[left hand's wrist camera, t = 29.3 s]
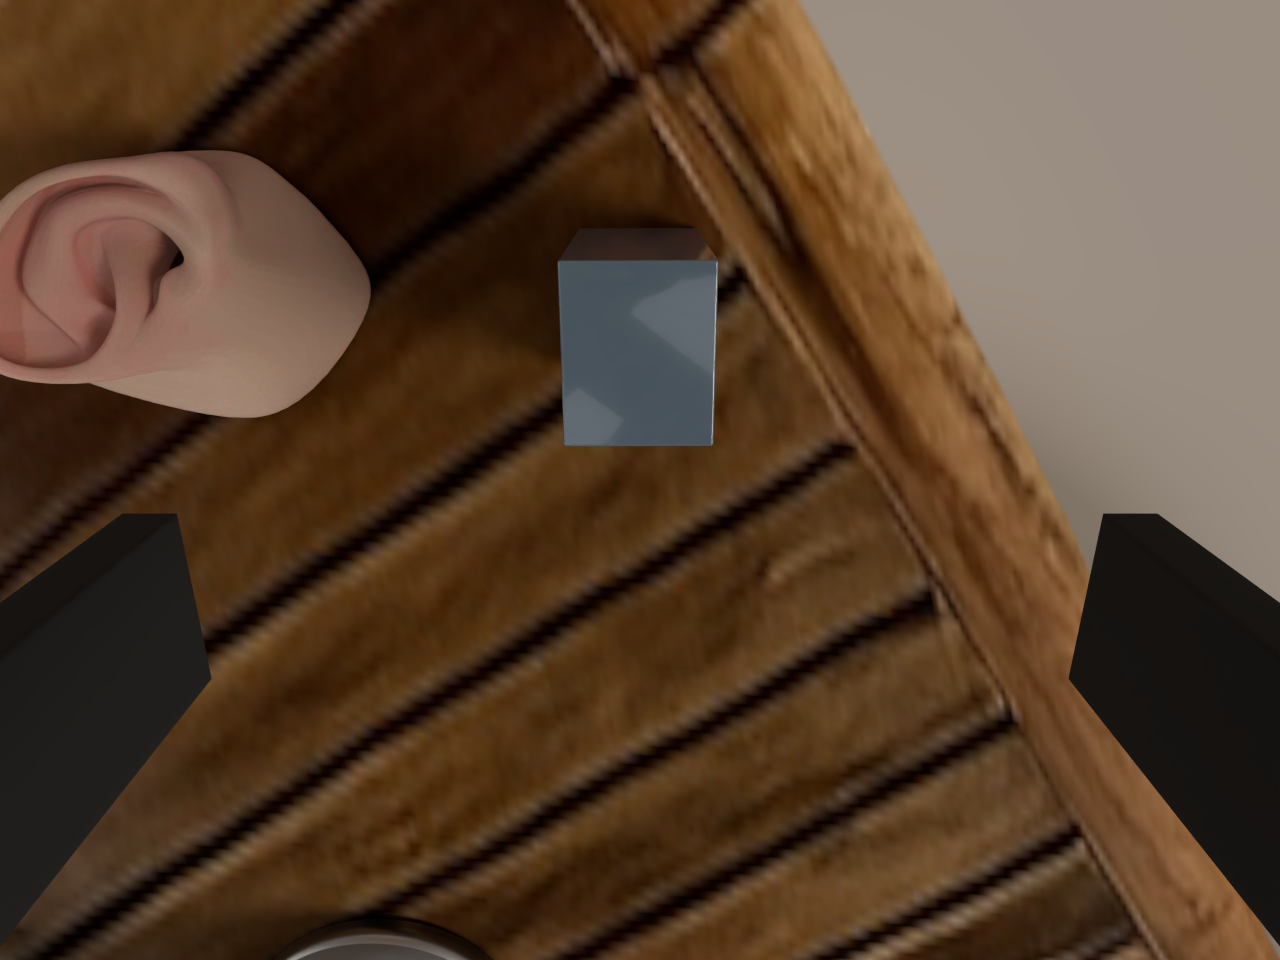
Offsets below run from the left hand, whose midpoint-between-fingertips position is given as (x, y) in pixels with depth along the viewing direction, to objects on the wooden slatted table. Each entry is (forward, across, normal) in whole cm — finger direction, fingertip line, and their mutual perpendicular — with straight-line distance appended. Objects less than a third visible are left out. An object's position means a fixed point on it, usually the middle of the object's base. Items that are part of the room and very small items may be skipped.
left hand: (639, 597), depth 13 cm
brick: (+25, 0, 0) cm, 25 cm away
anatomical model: (+25, +18, -1) cm, 31 cm away
